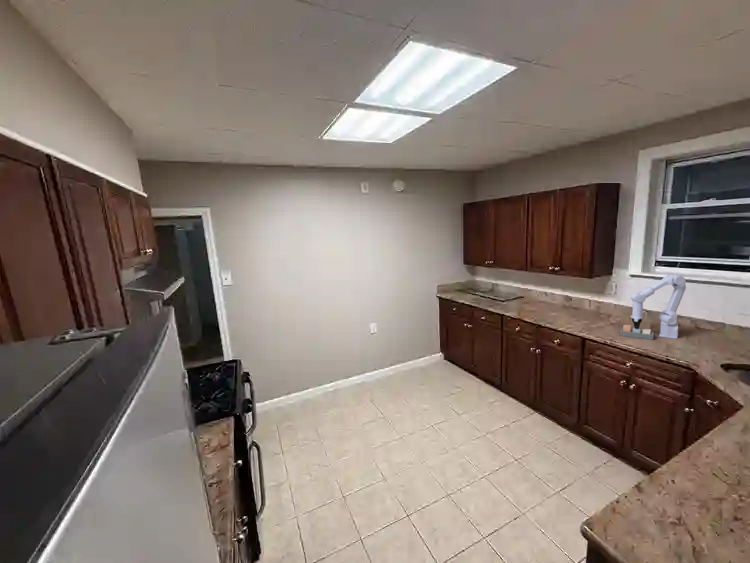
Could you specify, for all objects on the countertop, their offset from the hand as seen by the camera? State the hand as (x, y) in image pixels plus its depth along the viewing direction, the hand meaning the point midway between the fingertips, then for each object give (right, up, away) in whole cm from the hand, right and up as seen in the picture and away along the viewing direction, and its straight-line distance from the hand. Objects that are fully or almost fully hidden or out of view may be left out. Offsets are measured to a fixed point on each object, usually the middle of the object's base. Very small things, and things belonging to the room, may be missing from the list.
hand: (636, 328), depth 235 cm
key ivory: (+4, -4, -3) cm, 7 cm away
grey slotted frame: (0, -5, +1) cm, 6 cm away
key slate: (0, -4, +1) cm, 4 cm away
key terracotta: (-4, -2, +4) cm, 6 cm away
